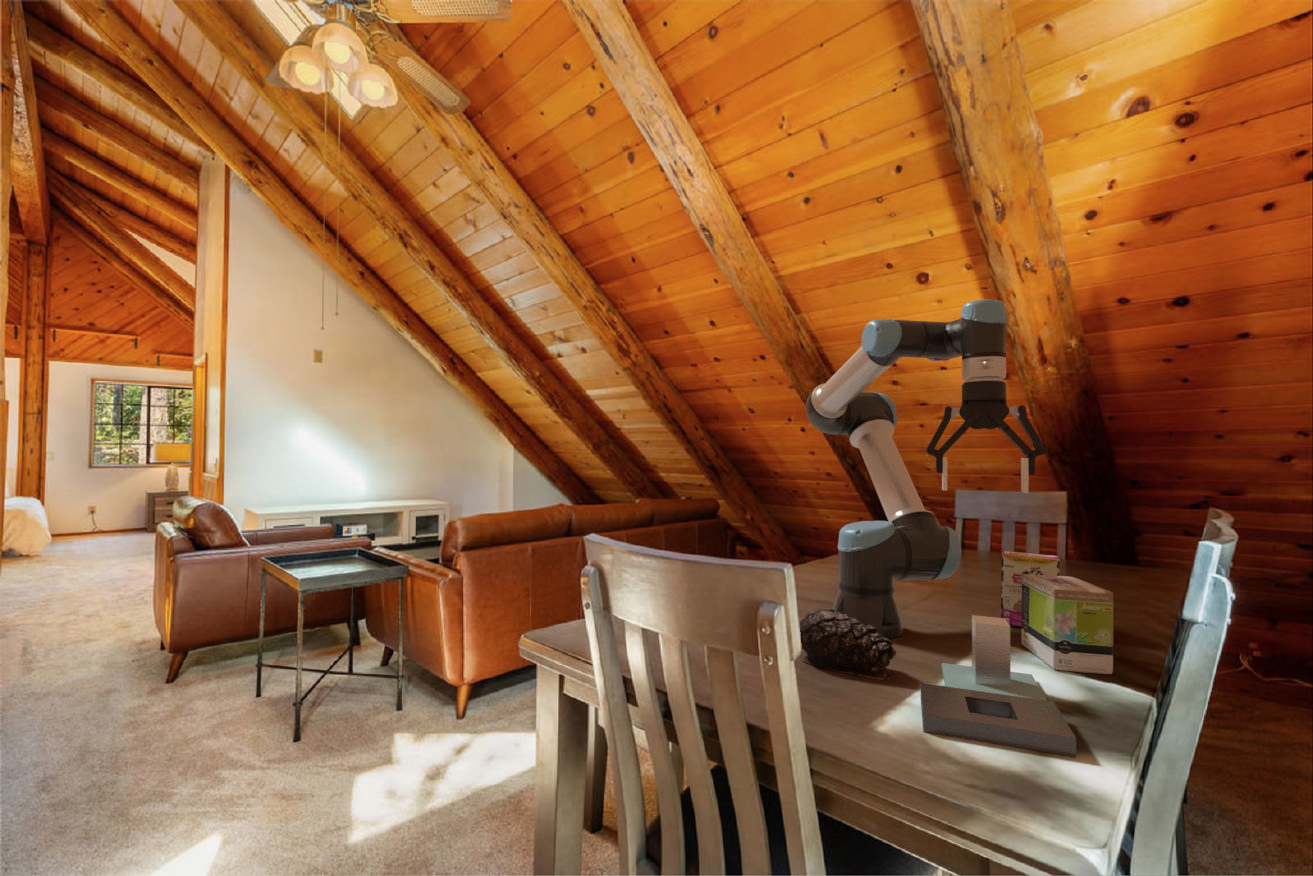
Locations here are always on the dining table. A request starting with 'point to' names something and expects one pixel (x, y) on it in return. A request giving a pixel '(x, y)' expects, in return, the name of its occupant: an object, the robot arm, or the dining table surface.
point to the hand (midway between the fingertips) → (983, 491)
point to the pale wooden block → (991, 651)
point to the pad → (964, 679)
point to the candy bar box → (1012, 580)
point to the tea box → (1068, 623)
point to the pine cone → (844, 644)
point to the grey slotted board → (996, 719)
